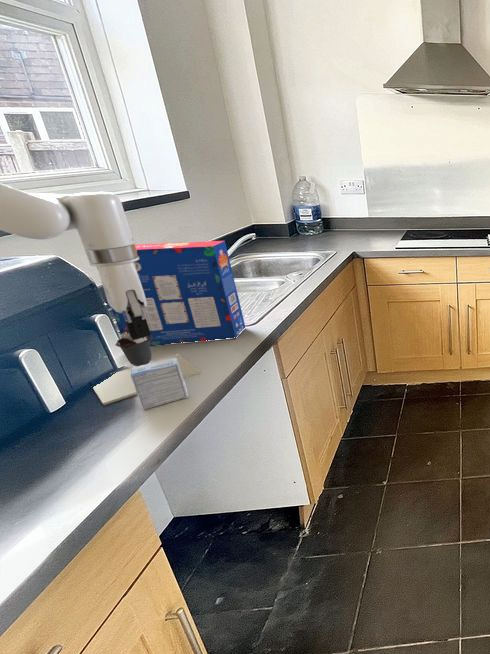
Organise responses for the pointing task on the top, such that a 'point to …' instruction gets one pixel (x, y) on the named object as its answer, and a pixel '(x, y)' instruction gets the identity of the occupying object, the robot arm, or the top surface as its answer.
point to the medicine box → (159, 383)
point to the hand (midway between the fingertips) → (141, 336)
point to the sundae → (135, 348)
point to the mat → (124, 387)
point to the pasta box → (187, 292)
